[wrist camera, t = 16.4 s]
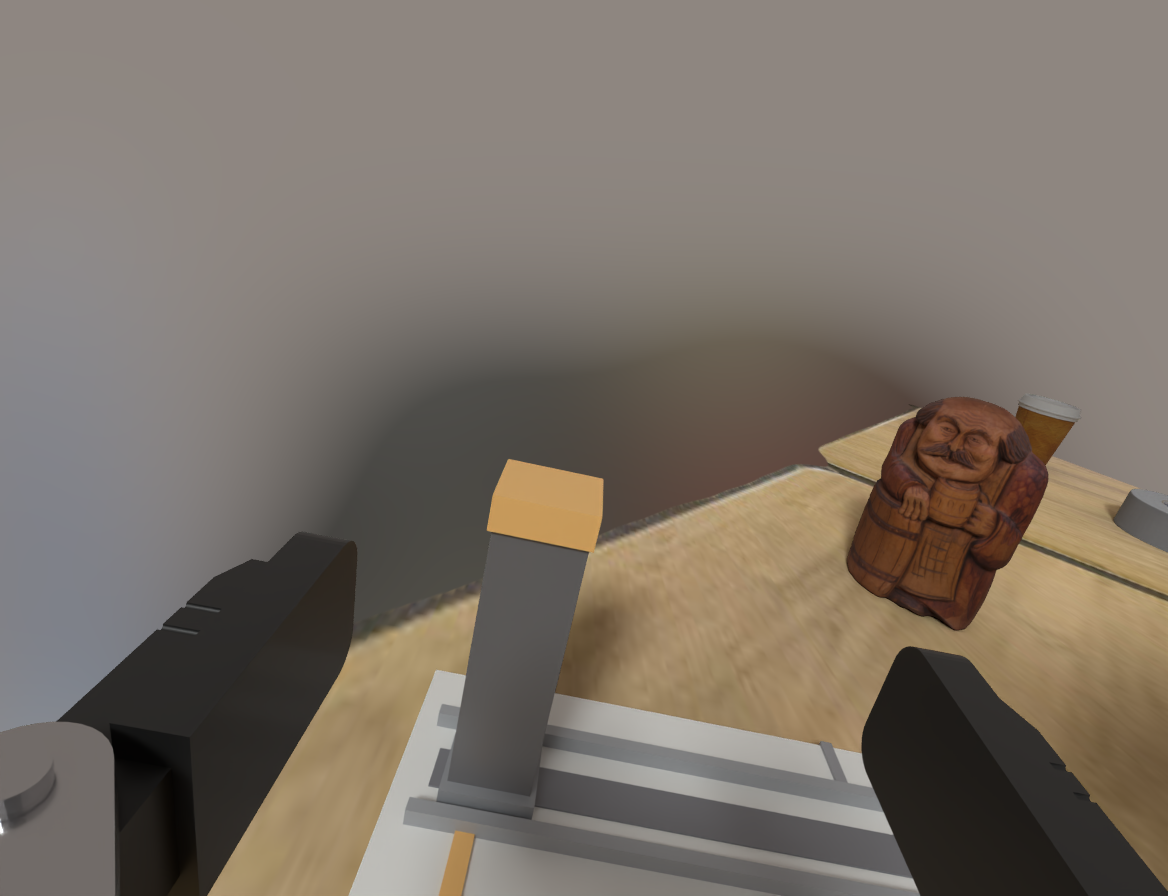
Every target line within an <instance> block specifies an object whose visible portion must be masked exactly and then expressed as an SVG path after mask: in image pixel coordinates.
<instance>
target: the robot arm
mask: <svg viewBox="0 0 1168 896" xmlns="http://www.w3.org/2000/svg"><path fill="white" fill-rule="evenodd" d="M356 569H357V547H356V544H355V542H354V541H349V540H344V539H338V538H333V537H328V536H322V535H317V534H312V533H307V532H299V533H297V534H295V536H293V537H292V538H291V539H290V540H289V541H288V542H287V543H286V544H285V545H284V547H282V548H281V549H280V550H279V551H278V552H277V553H276V554H275V555H274V557H272V558H271V559H270V561H268V562H264V561H259V560H253V559H251V560H249V561H247V562H245V563H243V564H241V565H239V566H237V567H234V568H232V569H230V570H228V571H226V572H224V573H222V574H220V575H218V576H216V577H214V578H213V579H212V580H210V581H209V582H208V583H207V584H206V585H205V586H204V587H203V588H202V589H201V590H200V591H198V592H197V593H196V594H195V595H194V596H193V597H192V598H191V599H190V600H189V601H188V602H187V604H186V607H185V608H182V607H181V608H180V609H179V610H178V611H177V612H176V613H174V614H173V615H172V616H171V617H170V618H169V619H168V620H167V621H166V622H165V623H164V624H163V627H162V629H161V630H156V631H155V632H154V633H153V634H152V635H150V636H149V637H148V638H147V639H146V640H145V641H144V642H143V643H142V644H141V645H140V646H138V647H137V648H136V649H135V650H134V651H133V652H132V653H131V654H130V655H129V656H128V657H126V658H125V659H124V660H123V661H122V662H121V663H120V664H119V665H118V666H117V667H115V669H113V670H112V671H111V672H110V673H109V674H108V675H107V676H106V677H105V678H104V679H103V680H101V681H100V682H99V683H98V684H97V685H96V686H95V687H94V688H93V689H92V690H90V691H89V692H88V693H87V694H86V695H85V696H84V697H83V698H82V699H81V700H80V701H78V702H77V703H76V704H75V705H74V706H73V707H72V708H71V709H70V710H69V711H68V712H66V713H65V714H64V715H63V716H62V717H61V718H60V719H59V720H58V721H56V722H46V723H37V724H31V725H26V726H21V727H17V728H14V729H10V730H7V731H3V732H0V896H207V895H208V893H209V892H210V890H211V888H212V887H213V885H214V883H215V881H216V880H217V878H218V876H219V875H220V873H221V871H222V870H223V868H224V866H225V865H226V863H227V861H228V860H229V858H230V856H231V855H232V853H233V851H234V850H235V848H236V846H237V845H238V843H239V841H240V840H241V838H242V836H243V835H244V833H245V831H246V830H247V828H248V826H249V824H250V823H251V821H252V819H253V818H254V816H255V814H256V813H257V811H258V809H259V808H260V806H261V804H262V803H263V801H264V799H265V798H266V796H267V794H268V793H269V791H270V789H271V788H272V786H273V784H274V783H275V781H276V779H277V778H278V776H279V774H280V772H281V771H282V769H283V767H284V766H285V764H286V762H287V761H288V759H289V757H290V756H291V754H292V752H293V751H294V749H295V747H296V746H297V744H298V742H299V741H300V739H301V737H302V736H303V734H304V732H305V731H306V729H307V727H308V726H309V724H310V722H311V721H312V719H313V717H314V715H315V714H316V712H317V710H318V709H319V707H320V705H321V704H322V702H323V700H324V699H325V697H326V695H327V694H328V692H329V690H330V689H331V687H332V685H333V684H334V682H335V680H336V679H337V677H338V675H339V673H340V671H341V669H342V667H343V665H344V662H345V660H346V657H347V654H348V651H349V647H350V643H351V638H352V632H353V619H354V602H355V585H356ZM862 759H863V764H864V768H865V771H866V773H867V776H868V778H869V780H870V783H871V785H872V787H873V789H874V792H875V794H876V796H877V799H878V801H879V803H880V805H881V808H882V810H883V812H884V814H885V817H886V819H887V821H888V823H889V826H890V828H891V830H892V833H893V835H894V837H895V839H896V842H897V844H898V846H899V848H900V851H901V853H902V855H903V857H904V860H905V862H906V864H907V867H908V869H909V871H910V873H911V876H912V878H913V880H914V882H915V885H916V887H917V889H918V892H919V894H920V896H1168V891H1167V890H1166V889H1165V888H1164V886H1163V885H1162V884H1161V883H1160V881H1159V880H1158V879H1157V878H1156V876H1155V875H1154V874H1153V873H1152V872H1151V870H1150V869H1149V868H1148V867H1147V865H1146V864H1145V863H1144V862H1143V860H1142V859H1141V858H1140V857H1139V855H1138V854H1137V853H1136V852H1135V850H1134V849H1133V848H1132V847H1131V845H1130V844H1129V843H1128V842H1127V840H1126V839H1125V838H1124V837H1123V836H1122V834H1121V833H1120V832H1119V831H1118V829H1117V828H1116V827H1115V826H1114V824H1113V823H1112V822H1111V821H1110V819H1109V818H1108V817H1107V816H1106V814H1105V813H1104V812H1103V811H1102V809H1101V808H1100V807H1099V806H1098V804H1097V803H1094V802H1091V801H1090V799H1089V796H1090V795H1089V793H1088V792H1087V791H1086V790H1085V788H1084V787H1083V786H1082V785H1081V783H1080V782H1079V781H1078V780H1077V778H1076V777H1075V776H1074V775H1073V773H1072V772H1067V771H1066V768H1065V767H1066V765H1065V764H1064V762H1063V761H1062V760H1061V759H1060V757H1059V756H1058V755H1057V754H1056V752H1055V751H1054V750H1053V749H1052V747H1051V746H1050V745H1049V744H1048V742H1047V741H1046V740H1045V739H1044V737H1043V736H1042V735H1041V734H1040V732H1039V731H1038V730H1037V729H1035V728H1034V727H1033V726H1032V725H1031V724H1029V723H1028V722H1027V721H1026V720H1025V719H1023V718H1022V717H1021V716H1020V715H1019V714H1017V713H1016V712H1015V711H1014V710H1013V709H1012V708H1010V707H1009V706H1008V705H1007V704H1006V703H1004V702H1003V701H1002V700H1001V699H999V697H998V696H997V695H996V693H995V692H994V691H993V690H992V688H991V687H990V686H989V684H988V683H987V682H986V681H985V679H984V678H983V677H982V675H981V674H980V673H979V672H978V670H977V669H976V668H975V666H974V665H973V664H972V663H971V662H970V661H969V660H968V659H967V658H965V657H963V656H960V655H954V654H949V653H944V652H938V651H933V650H928V649H922V648H917V647H911V646H909V647H905V648H903V649H902V650H901V651H900V652H899V653H898V654H897V656H896V658H895V660H894V662H893V664H892V666H891V669H890V671H889V673H888V675H887V677H886V680H885V682H884V684H883V686H882V688H881V691H880V693H879V695H878V697H877V699H876V702H875V704H874V706H873V708H872V710H871V713H870V715H869V717H868V719H867V721H866V724H865V726H864V730H863V735H862Z"/></svg>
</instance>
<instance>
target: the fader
mask: <svg viewBox="0 0 1168 896" xmlns="http://www.w3.org/2000/svg"><path fill="white" fill-rule="evenodd" d="M602 508H603V479H601V478H596V477H592V476H587V475H582V474H577V473H572V472H568V471H563V470H558V469H554V468H549V467H544V466H539V465H535V464H529V463H525V462H520V461H515V460H511V459H508V461H507V464H506V466H505V468H504V470H503V473H502V475H501V477H500V480H499V482H498V484H497V487H496V489H495V491H494V494H493V498H492V503H491V509H490V515H489V521H488V526H487V531H491V537H490V543H489V549H488V555H487V560H486V566H485V572H484V577H483V582H482V588H481V594H480V599H479V605H478V611H477V616H476V622H475V627H474V633H473V639H472V644H471V650H470V656H469V661H468V667H467V673H466V678H465V684H464V689H463V695H462V701H461V706H460V712H459V718H458V723H457V729H456V733H455V736H454V739H453V743H452V746H451V749H450V753H449V756H448V759H447V763H446V766H445V769H444V773H443V776H442V779H441V782H440V786H439V789H438V794H437V800H436V802H440V803H445V804H450V805H455V806H461V807H466V808H471V809H477V810H482V811H487V812H492V813H498V814H503V815H508V816H513V817H519V818H524V819H529V820H532V816H533V811H534V807H535V799H536V791H537V783H538V776H539V768H540V760H541V752H542V745H543V740H544V736H545V732H546V727H547V723H548V719H549V715H550V711H551V707H552V703H553V698H554V694H555V690H556V686H557V682H558V678H559V674H560V669H561V665H562V661H563V657H564V653H565V649H566V645H567V641H568V636H569V632H570V628H571V624H572V620H573V616H574V612H575V607H576V603H577V599H578V595H579V591H580V587H581V583H582V578H583V574H584V570H585V566H586V562H587V558H588V554H589V552H593V553H594V549H595V545H596V541H597V537H598V533H599V529H600V524H601V520H602Z"/></svg>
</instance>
